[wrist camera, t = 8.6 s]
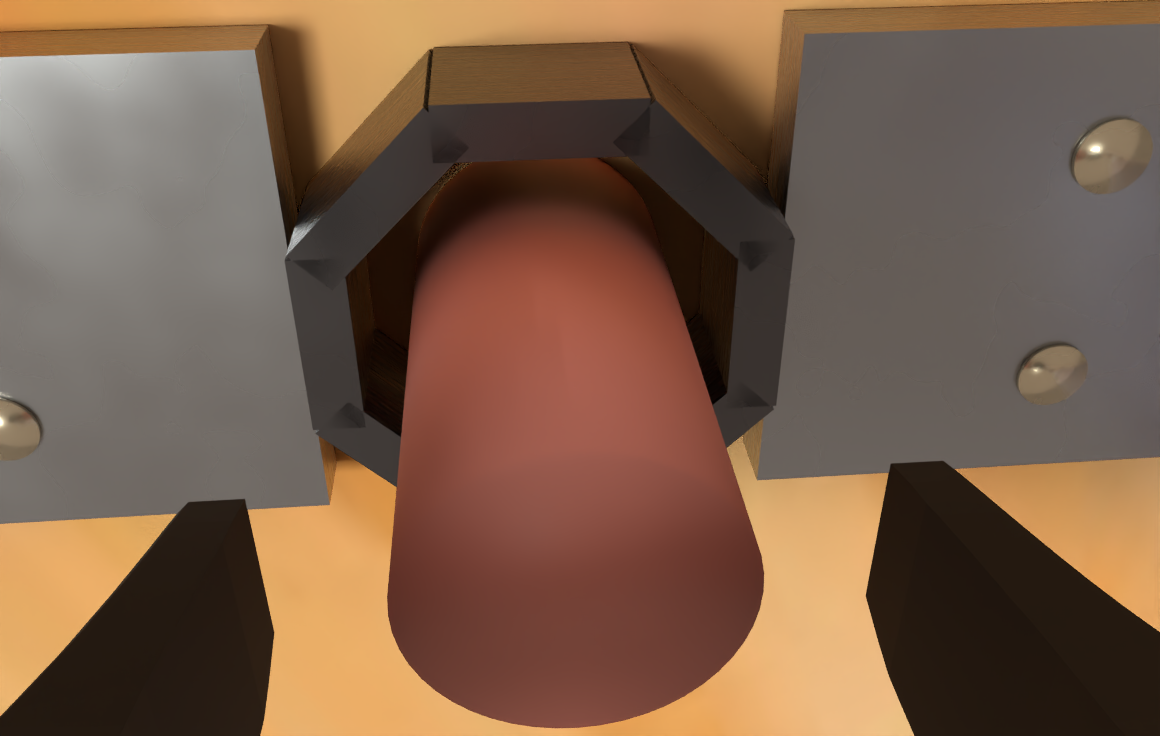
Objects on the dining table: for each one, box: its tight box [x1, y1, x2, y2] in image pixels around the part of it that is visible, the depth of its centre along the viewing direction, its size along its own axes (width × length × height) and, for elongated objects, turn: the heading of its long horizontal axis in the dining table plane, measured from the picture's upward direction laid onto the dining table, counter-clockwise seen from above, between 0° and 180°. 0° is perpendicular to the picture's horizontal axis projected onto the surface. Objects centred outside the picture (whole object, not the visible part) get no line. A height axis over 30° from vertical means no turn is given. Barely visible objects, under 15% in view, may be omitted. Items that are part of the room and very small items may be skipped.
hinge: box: [0, 1, 1160, 524], centre depth 17 cm, size 8×28×2 cm, turn 90°
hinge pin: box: [387, 158, 764, 728], centre depth 15 cm, size 4×4×8 cm
